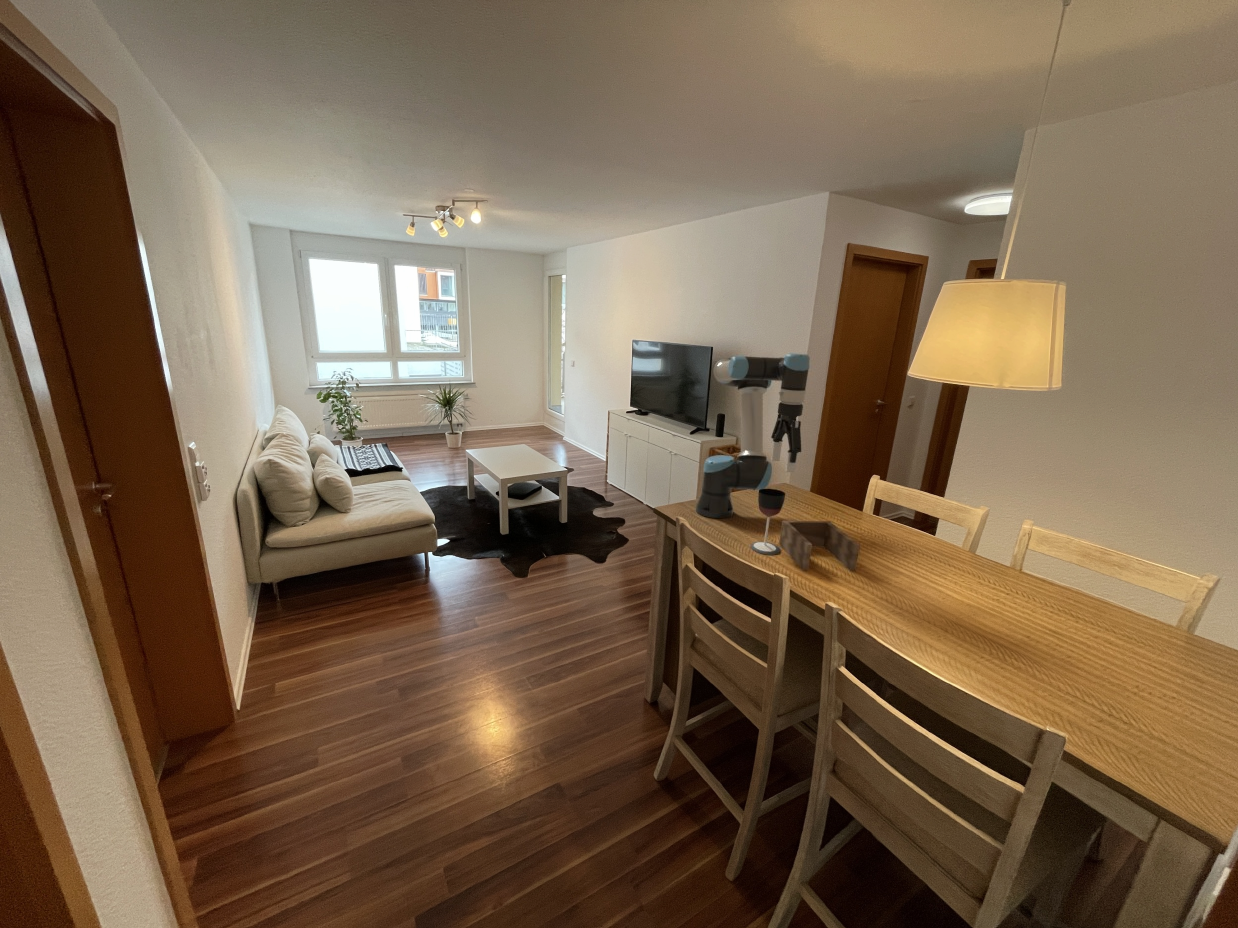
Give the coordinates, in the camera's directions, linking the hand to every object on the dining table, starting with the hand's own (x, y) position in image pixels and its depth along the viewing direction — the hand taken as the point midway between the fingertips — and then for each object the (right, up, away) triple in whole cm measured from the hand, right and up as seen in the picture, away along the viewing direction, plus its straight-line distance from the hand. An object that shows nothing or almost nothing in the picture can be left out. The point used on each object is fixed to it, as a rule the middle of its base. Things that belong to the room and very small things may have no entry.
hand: (782, 466), depth 165 cm
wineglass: (-4, -28, +7) cm, 29 cm away
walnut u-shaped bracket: (+12, -31, +2) cm, 33 cm away
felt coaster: (-4, -29, +6) cm, 30 cm away
